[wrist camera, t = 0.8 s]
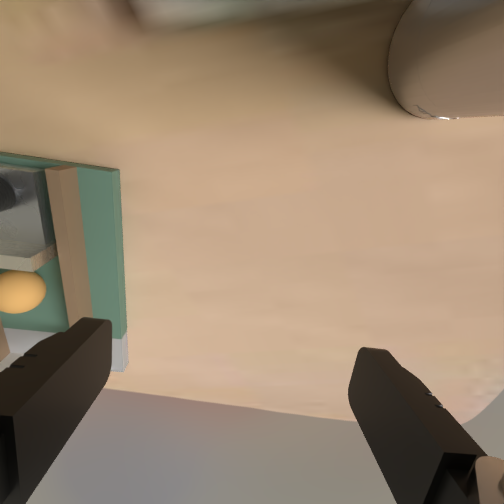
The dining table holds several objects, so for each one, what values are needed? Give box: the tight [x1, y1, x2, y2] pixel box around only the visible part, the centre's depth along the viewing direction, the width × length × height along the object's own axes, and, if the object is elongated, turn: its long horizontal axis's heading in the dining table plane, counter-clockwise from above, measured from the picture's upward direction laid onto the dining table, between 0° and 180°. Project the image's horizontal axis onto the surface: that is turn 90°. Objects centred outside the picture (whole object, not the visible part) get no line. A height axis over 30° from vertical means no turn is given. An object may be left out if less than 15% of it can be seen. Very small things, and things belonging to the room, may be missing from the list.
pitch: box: [0, 152, 129, 372], centre depth 23 cm, size 23×16×10 cm
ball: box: [0, 270, 46, 314], centre depth 25 cm, size 4×4×4 cm
